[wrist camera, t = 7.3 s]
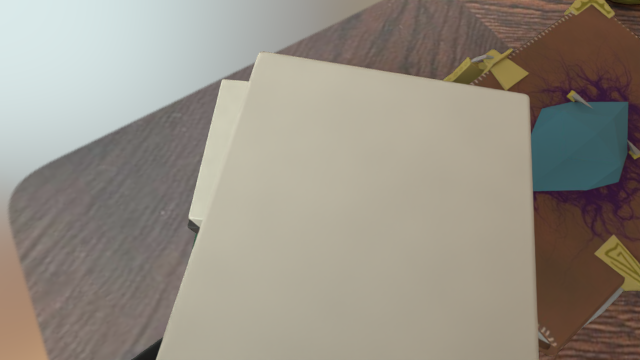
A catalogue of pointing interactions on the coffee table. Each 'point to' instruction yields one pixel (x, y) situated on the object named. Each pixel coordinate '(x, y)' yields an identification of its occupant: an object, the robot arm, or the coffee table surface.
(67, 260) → the coffee table surface
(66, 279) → the coffee table surface
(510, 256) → the cream rectangular block
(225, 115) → the cream and green block
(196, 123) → the coffee table surface
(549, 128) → the book
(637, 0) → the apple
